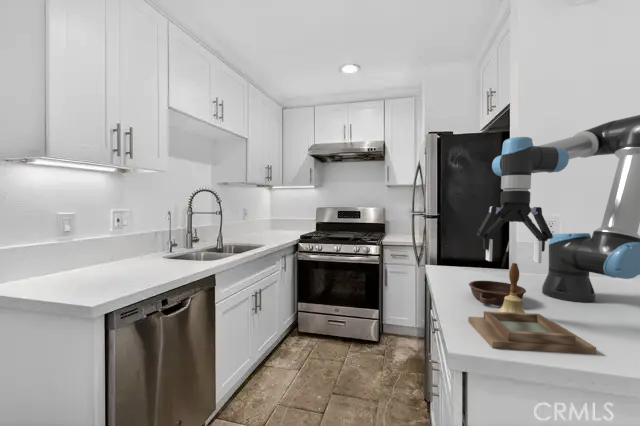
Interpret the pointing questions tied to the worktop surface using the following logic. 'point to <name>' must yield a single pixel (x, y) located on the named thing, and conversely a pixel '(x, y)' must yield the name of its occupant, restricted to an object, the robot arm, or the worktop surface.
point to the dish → (493, 291)
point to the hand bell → (512, 293)
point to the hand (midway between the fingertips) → (512, 261)
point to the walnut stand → (527, 333)
